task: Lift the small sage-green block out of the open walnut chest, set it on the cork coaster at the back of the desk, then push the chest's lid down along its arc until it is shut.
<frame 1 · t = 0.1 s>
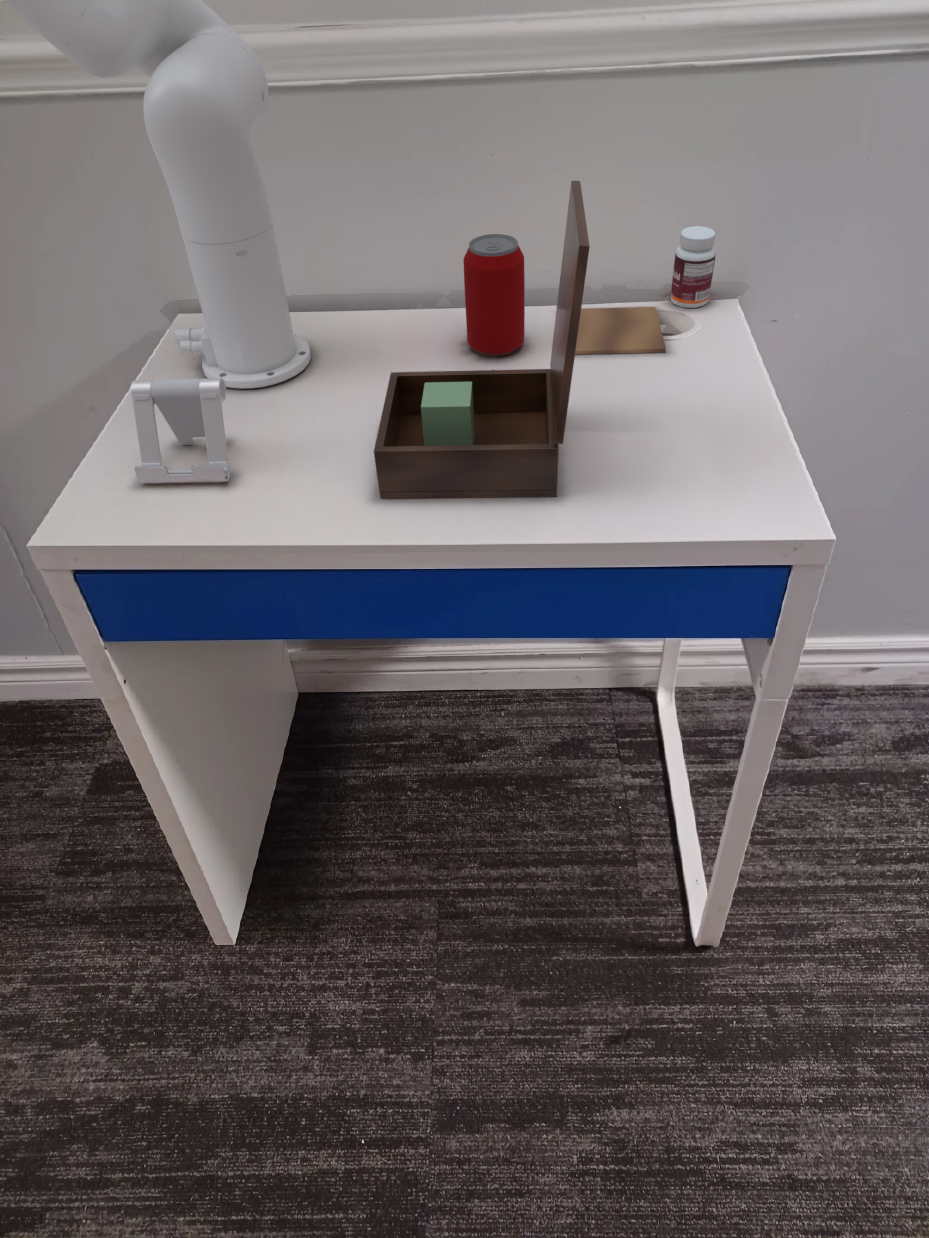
chest: (471, 454, 88), on the table
coaster: (613, 331, 106), on the table
beverage can: (496, 347, 105), on the table
green block: (450, 448, 88), point 1 cm above the table, touching chest
lid: (567, 313, 78), point 14 cm above the table, hinge at 95.0°
pill bottle: (689, 302, 111), on the table
tablet stand: (194, 466, 90), on the table
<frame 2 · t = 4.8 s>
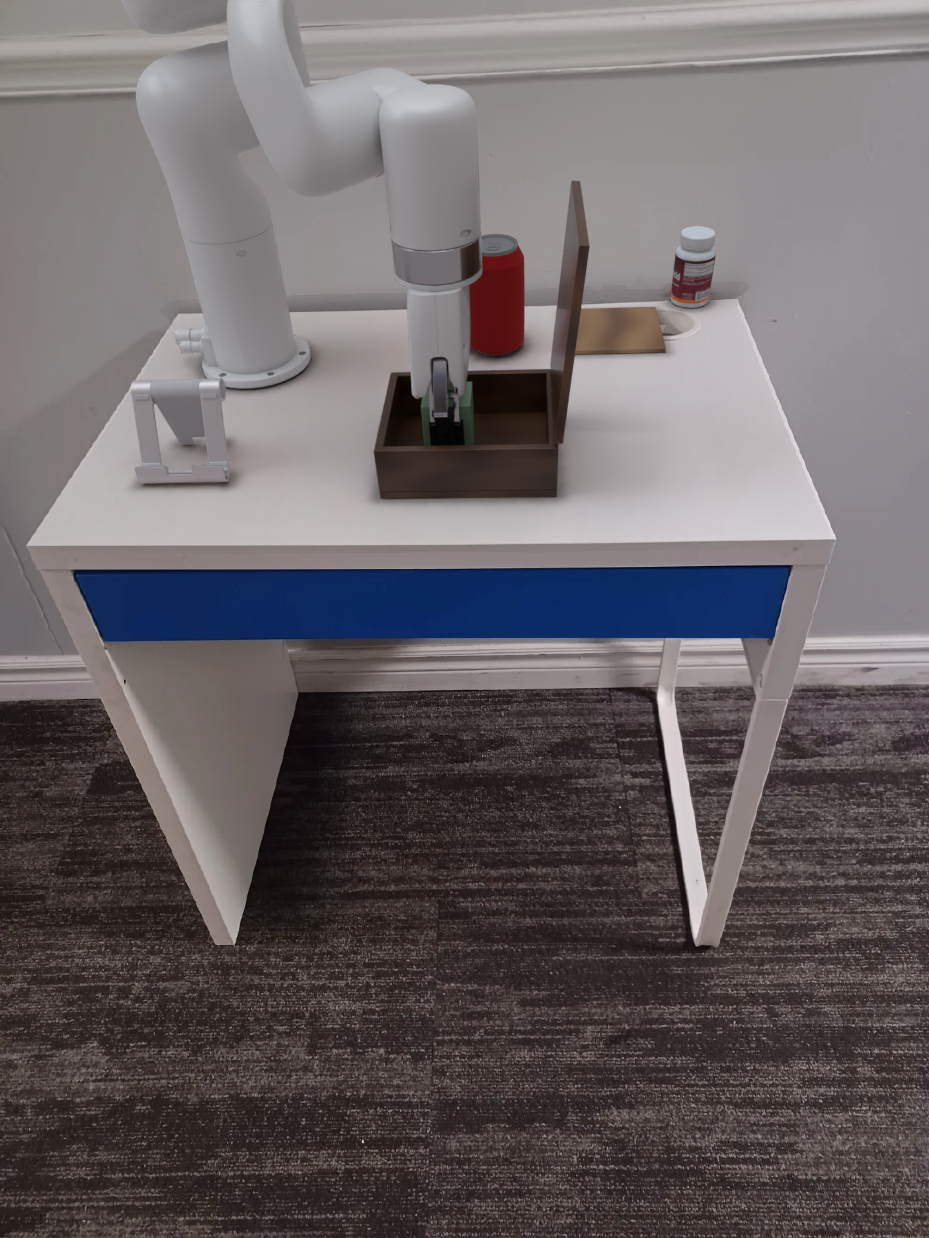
hand: (450, 440, 87), 2 cm above the table, tool pointing down, fingers closed on green block, 4 cm apart
green block: (450, 448, 88), point 1 cm above the table, touching chest, gripper
everything else where it was.
when the fingers open (1 cm above the table, at t = 15.3 s): green block stays where it is, resting on coaster.
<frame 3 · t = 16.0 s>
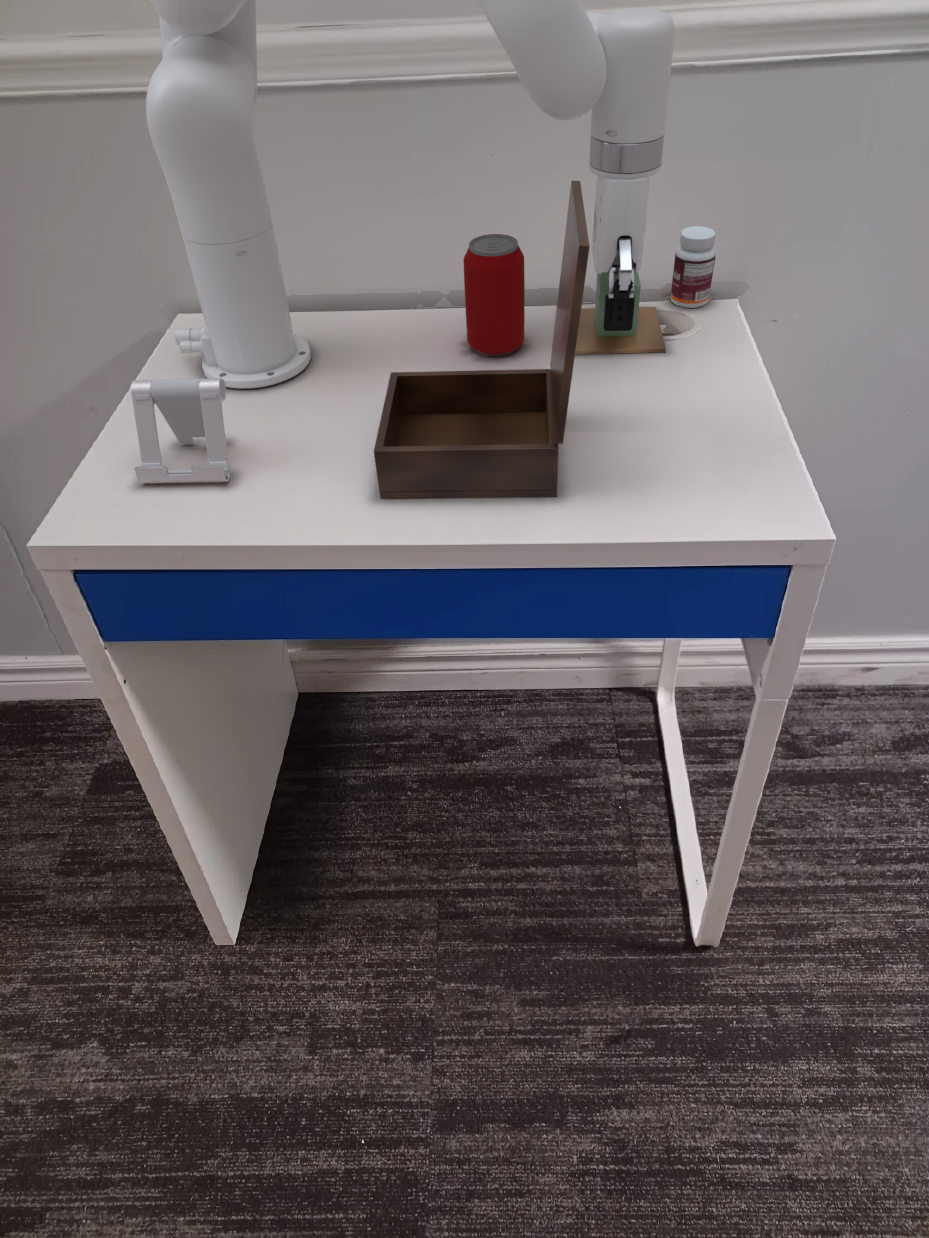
hand: (614, 311, 104), 3 cm above the table, tool pointing down, fingers open, 9 cm apart
green block: (615, 327, 106), resting on coaster
everything else where it was.
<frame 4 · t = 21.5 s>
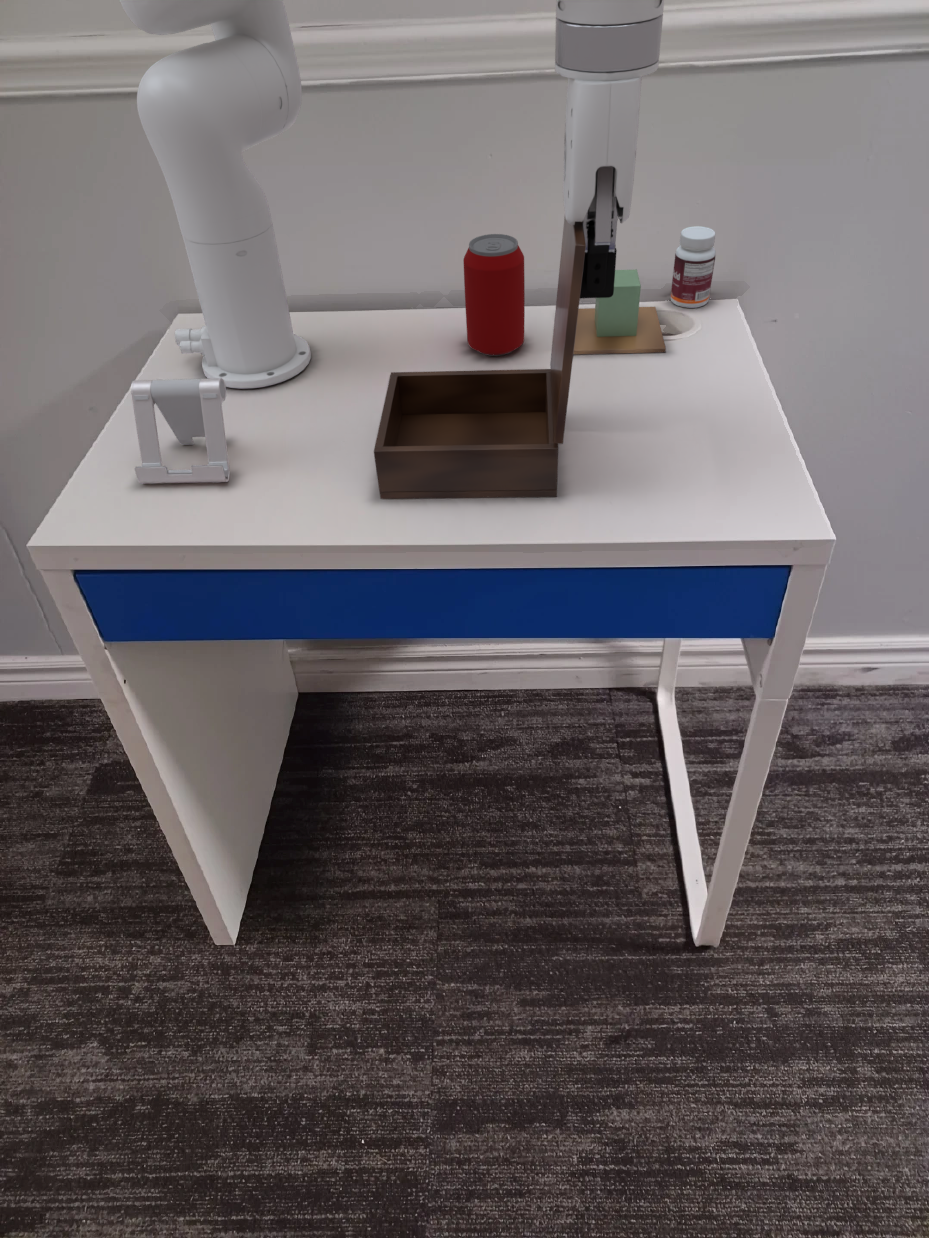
hand: (593, 293, 77), 16 cm above the table, tool pointing down, fingers closed
lid: (565, 313, 78), point 14 cm above the table, hinge at 94.0°, touching gripper
everything else where it was.
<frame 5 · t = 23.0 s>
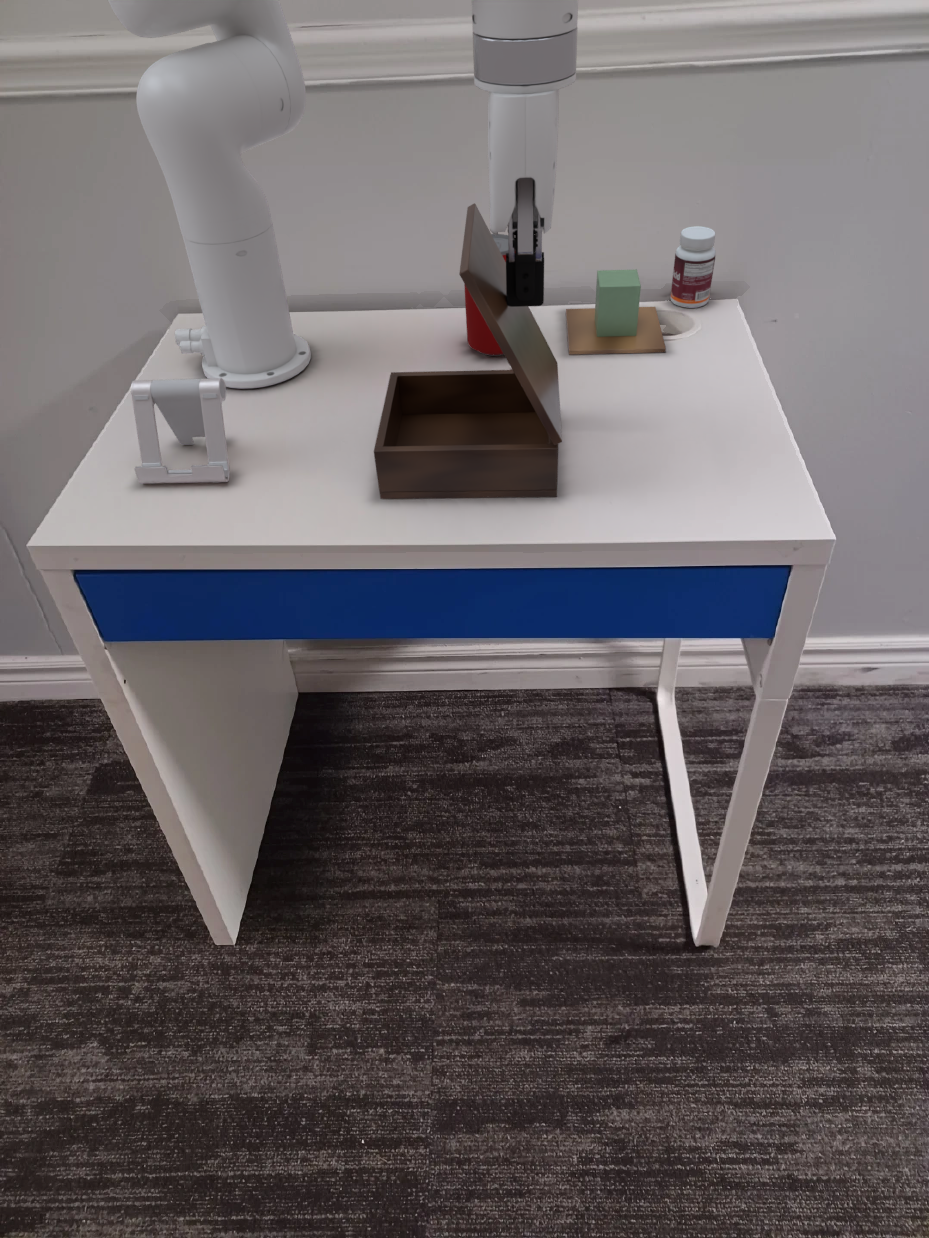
hand: (525, 302, 77), 16 cm above the table, tool pointing down, fingers closed
lid: (514, 324, 79), point 14 cm above the table, hinge at 63.7°, touching gripper
everything else where it was.
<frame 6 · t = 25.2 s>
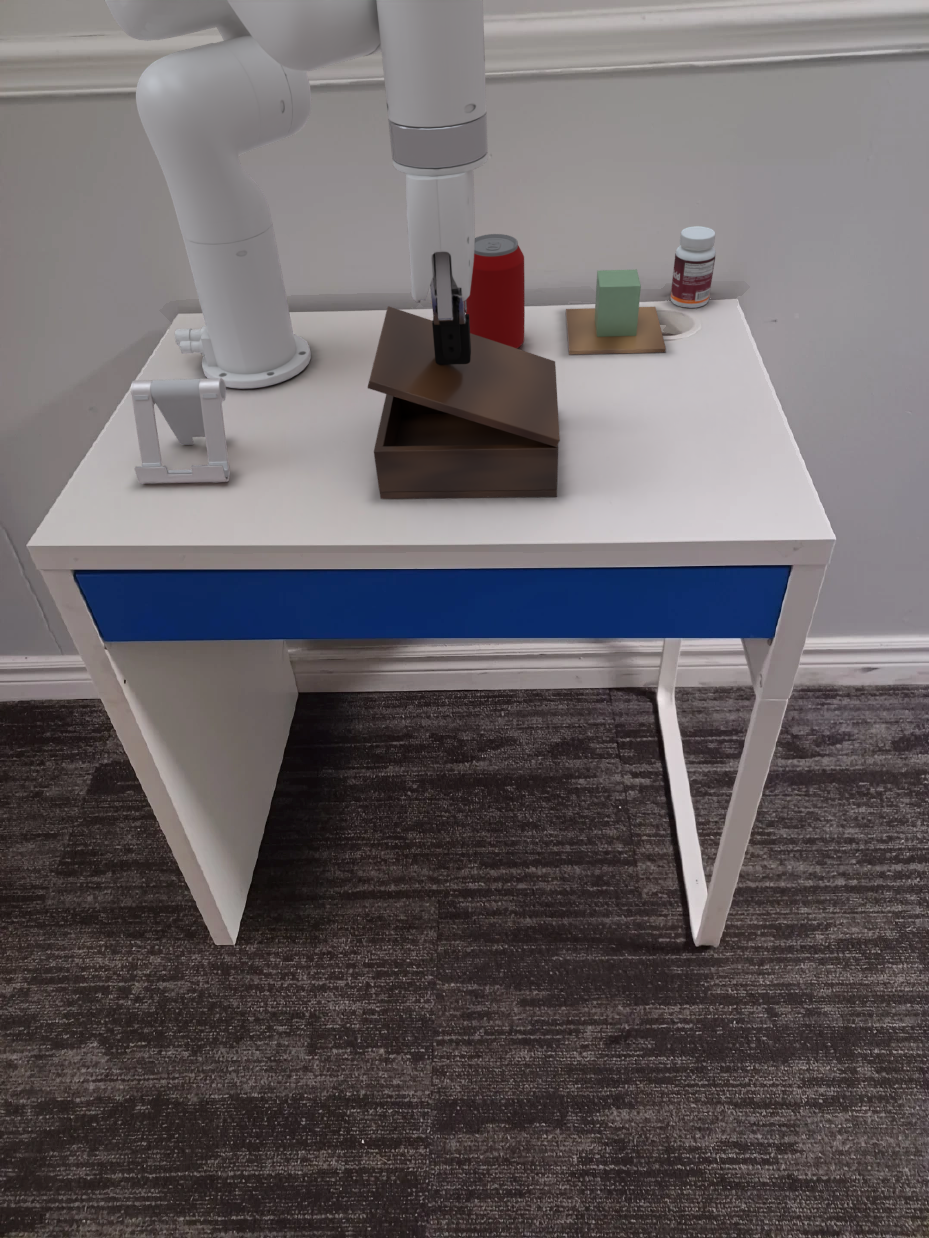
hand: (453, 359, 81), 10 cm above the table, tool pointing down, fingers closed
lid: (468, 373, 82), point 9 cm above the table, hinge at 20.8°, touching gripper
everything else where it was.
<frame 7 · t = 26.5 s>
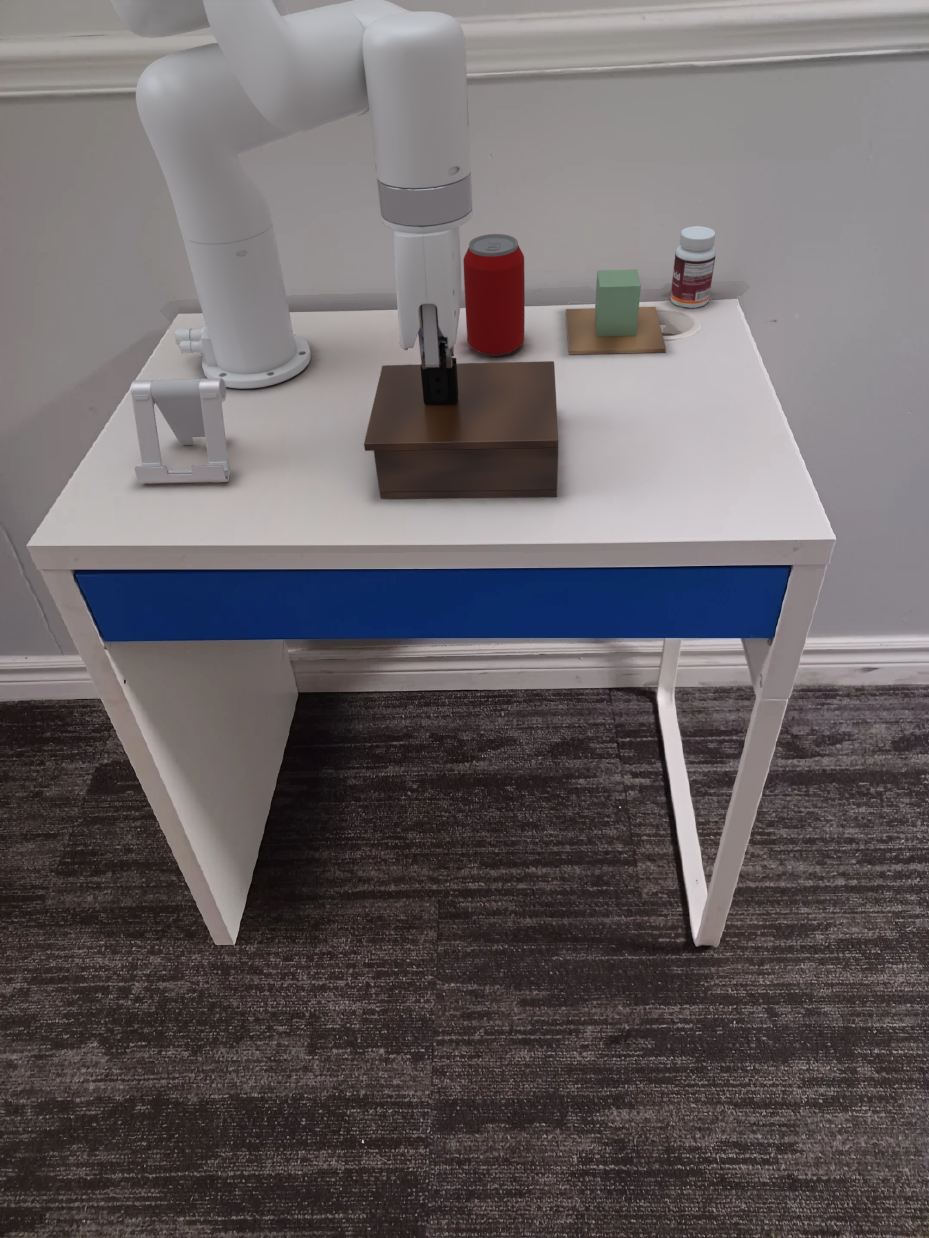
hand: (441, 400, 84), 6 cm above the table, tool pointing down, fingers closed
lid: (464, 403, 84), point 6 cm above the table, hinge at -0.2°, touching gripper
everything else where it was.
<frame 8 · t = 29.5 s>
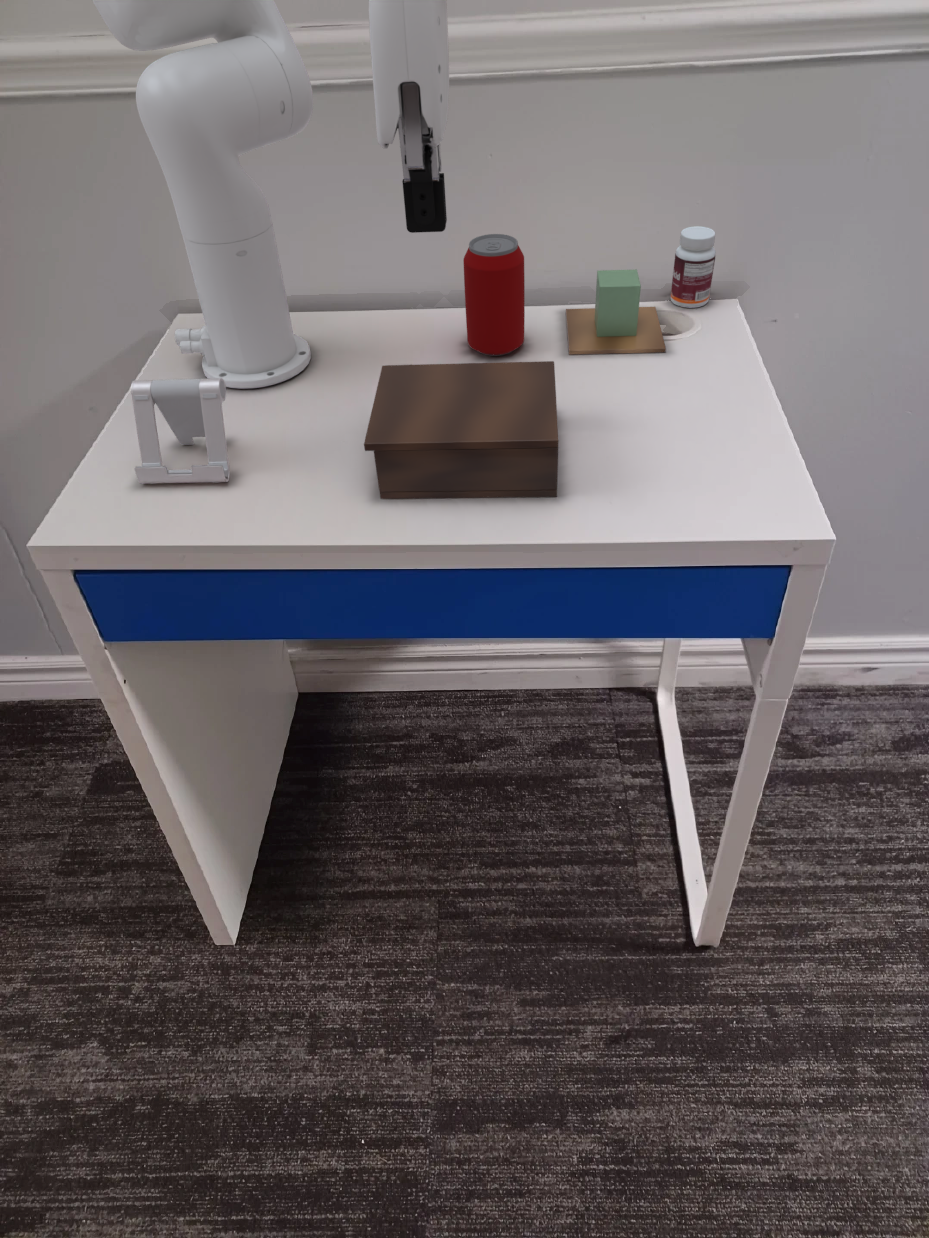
hand: (427, 228, 73), 22 cm above the table, tool pointing down, fingers closed
lid: (464, 403, 84), point 6 cm above the table, hinge at -0.2°
everything else where it was.
at the end: green block inside the target area on the coaster (0.2 cm from its centre), point 0.5 cm above the coaster's base; green block tilted 0°; lid at +0° (first picture: +95°) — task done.
